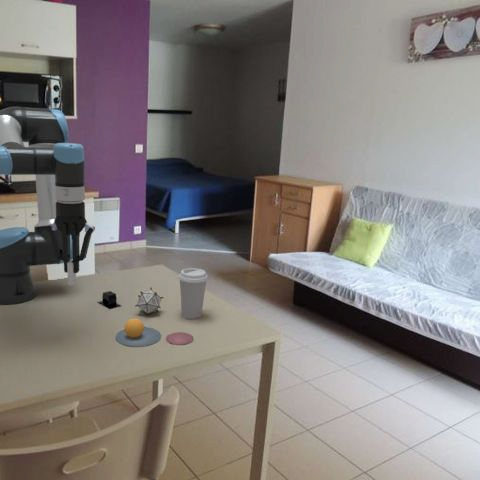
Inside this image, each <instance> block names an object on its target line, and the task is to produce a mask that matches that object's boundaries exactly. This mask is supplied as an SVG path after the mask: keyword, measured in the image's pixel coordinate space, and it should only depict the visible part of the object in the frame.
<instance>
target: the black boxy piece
mask: <svg viewBox="0 0 480 480" xmlns="http://www.w3.org/2000/svg"><path fill="white" fill-rule="evenodd" d="M117 297H118V296H117V293H115V292H113V291H111V290H108V291H105V292H102V297H101V298H102V300H100V301H96V303H97V304H99V305H101V306H103V307H105V308H106V309H107V310H112V309H113V310H114V309H116V308H120V307H122V305H121V304H119V303H118V301H117V300H118V299H117Z"/></svg>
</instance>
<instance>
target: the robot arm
mask: <svg viewBox="0 0 480 480" xmlns="http://www.w3.org/2000/svg"><path fill="white" fill-rule="evenodd" d="M69 138H70V137H69V128H68V121H67V119H66V115H65V113H63V112H62V111H61V110H59V109H53V108H49V107H48V108H43V107H42V108H41V107H25V106H9V107H6V108H3V109H1V110H0V175H4V176H10V175H11V176H14V175H15V176H16V175H17V176H21V175H22V176H23V175H24V176H27V175H28V176H31V175H32V176H35V187H36V189H35V190H36V199H37V200H36V203H37V216H38V217H37V218H38V222H37V223H36V224H35V225H34V226H33V227H34V231H30V230H29V229H28V228H27V227H25V226H24V227H23V226H21V227H19V226H17V227H16V226H14V227H8V228H7V227H6V228H3V229H0V305H14V304H15V305H16V304H21V303H24V302H29V301H31V300H33V299H34V298H36V296H37V286H36V285H35V282H34V280H33V278H32V275H31V268H30V267H33V266H35V267H36V266H37V267H38V266H48V265H60V264H63V271H64V273H67V285H68V286H74V285H75V284H76V283H77V274H78V273H79V272H80V262H81V261H84V260H85V259H86V258H87V255H88V250H89V246H90V242H91V239H92V238H91V237H92V234H93V233H94V232H95V230H96V227H95V226H92V225H90V224H88V221H87V219H86V203H85V202H84V201H85V199H86V197H85V196H86V195H85V194H86V193H85V191H86V190H85V188H86V187H85V159H86V157H85V152H84V151H85V149H84V146H83V145H82V144H80V143H75V142H73V143H71V142H69V140H70V139H69ZM24 143H28V146H25V144H24ZM83 230H84V233H85V234H84V236H83V240H82V245H81V247H80V237H81V236H80V235H81V232H82V231H83ZM80 248H81V249H80Z"/></svg>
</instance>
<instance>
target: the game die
mask: <svg viewBox="0 0 480 480" xmlns="http://www.w3.org/2000/svg"><path fill="white" fill-rule="evenodd" d="M149 288H150V289H149V290H146V291H139V292H140V295H139V294H138V295H137V297H138V301H137V304H136V305H134V307H138V308H139V309H140V310H141V311H142V312H144V313H146V317H148V316H149V314H151V313H154V312H156V313H157V312H159V309H161V306H160V305H161V301H162V299H164V296H160V295H159V294H157V291H156V292H155V291H153V290H152V286H151V287H149Z"/></svg>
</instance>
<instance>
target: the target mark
mask: <svg viewBox="0 0 480 480" xmlns="http://www.w3.org/2000/svg"><path fill="white" fill-rule="evenodd" d="M161 339H162V334H161V332H160V331H158V329H155V328H151V327H147V326H144V330H143V333H142V334H141V335H140V336H139V337H136V338H132V337H129V336H128V335H127V334H126V333H125V328H124V329H122V330H120V331H119V332H117V333H116V335H115V340H116V342H117V343H119V344H120V345H123V346H126V347H132V348H140V347H141V348H143V347H148V346H152V345H154V344H156V343H158V342H159V341H160V340H161Z"/></svg>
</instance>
